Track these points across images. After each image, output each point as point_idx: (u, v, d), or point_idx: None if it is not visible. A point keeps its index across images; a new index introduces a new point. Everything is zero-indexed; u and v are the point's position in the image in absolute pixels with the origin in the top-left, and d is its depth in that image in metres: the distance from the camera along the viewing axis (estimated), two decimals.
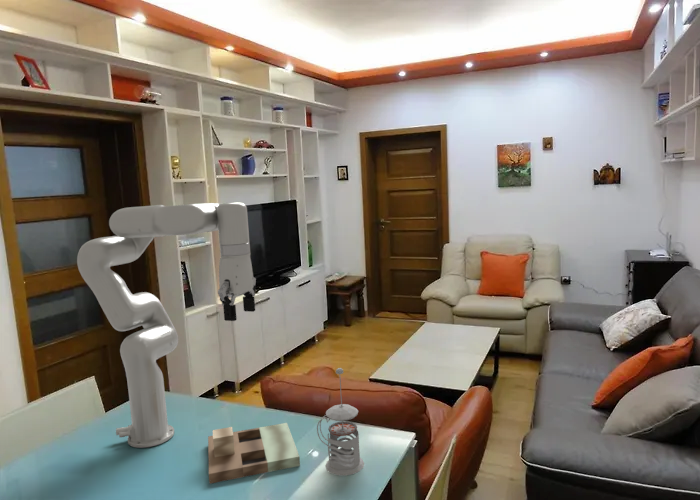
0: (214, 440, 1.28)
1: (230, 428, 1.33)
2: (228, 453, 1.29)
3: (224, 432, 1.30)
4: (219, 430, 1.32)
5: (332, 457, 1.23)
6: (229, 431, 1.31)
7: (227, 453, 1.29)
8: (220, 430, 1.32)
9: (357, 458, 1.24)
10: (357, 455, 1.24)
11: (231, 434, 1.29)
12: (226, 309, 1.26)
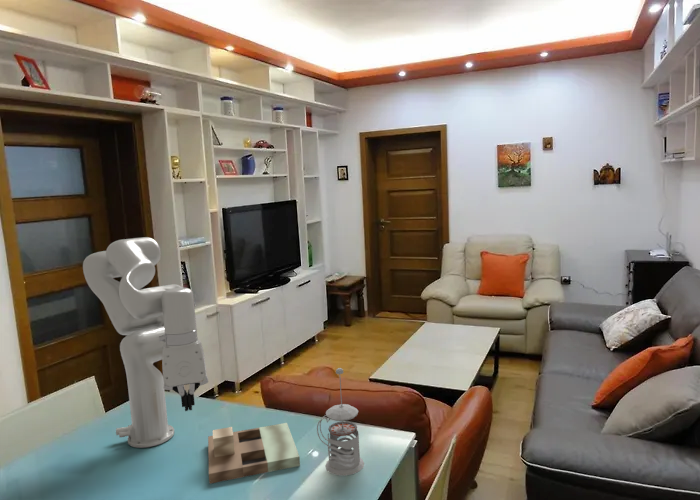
0: (214, 440, 1.28)
1: (230, 428, 1.33)
2: (228, 453, 1.29)
3: (224, 432, 1.30)
4: (219, 430, 1.32)
5: (332, 457, 1.23)
6: (229, 431, 1.31)
7: (227, 453, 1.29)
8: (220, 430, 1.32)
9: (357, 458, 1.24)
10: (357, 455, 1.24)
11: (231, 434, 1.29)
12: None
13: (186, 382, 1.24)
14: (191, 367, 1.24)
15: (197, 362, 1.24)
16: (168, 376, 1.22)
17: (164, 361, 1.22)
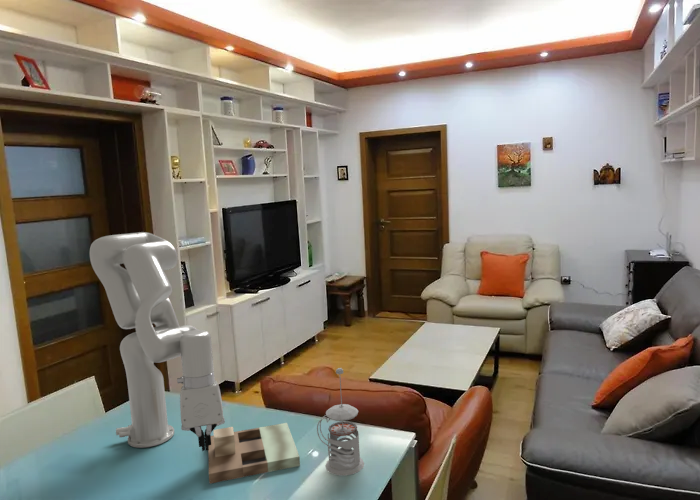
0: (215, 440, 1.28)
1: (231, 428, 1.33)
2: (229, 453, 1.29)
3: (225, 432, 1.30)
4: (220, 430, 1.32)
5: (332, 457, 1.23)
6: (230, 430, 1.31)
7: (228, 453, 1.29)
8: (221, 430, 1.32)
9: (357, 458, 1.24)
10: (357, 455, 1.24)
11: (232, 434, 1.29)
12: None
13: (203, 423, 1.26)
14: (208, 409, 1.26)
15: (214, 404, 1.26)
16: (186, 418, 1.25)
17: (182, 403, 1.24)
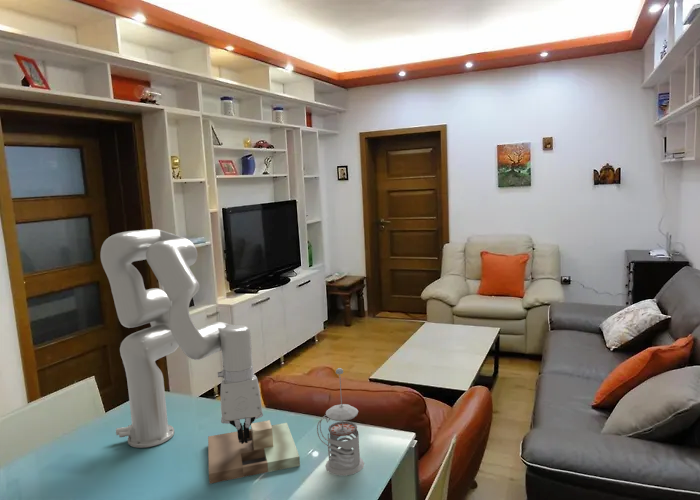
0: (254, 433, 1.30)
1: (268, 421, 1.35)
2: (267, 446, 1.32)
3: (263, 426, 1.33)
4: (257, 423, 1.34)
5: (332, 457, 1.23)
6: (267, 424, 1.34)
7: (266, 446, 1.32)
8: (258, 423, 1.34)
9: (357, 458, 1.24)
10: (357, 455, 1.24)
11: (270, 427, 1.32)
12: None
13: (243, 417, 1.29)
14: (248, 402, 1.29)
15: (254, 397, 1.29)
16: (226, 411, 1.27)
17: (223, 397, 1.27)
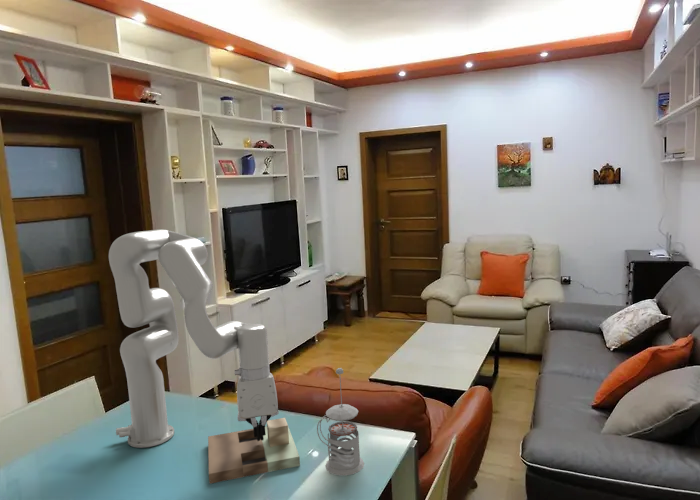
0: (270, 430, 1.31)
1: (283, 419, 1.36)
2: (283, 443, 1.33)
3: (278, 423, 1.34)
4: (273, 421, 1.36)
5: (332, 457, 1.23)
6: (283, 421, 1.35)
7: (282, 443, 1.33)
8: (274, 421, 1.36)
9: (357, 458, 1.24)
10: (357, 455, 1.24)
11: (286, 424, 1.33)
12: None
13: (260, 414, 1.30)
14: (264, 400, 1.30)
15: (270, 395, 1.30)
16: (243, 409, 1.29)
17: (240, 394, 1.28)
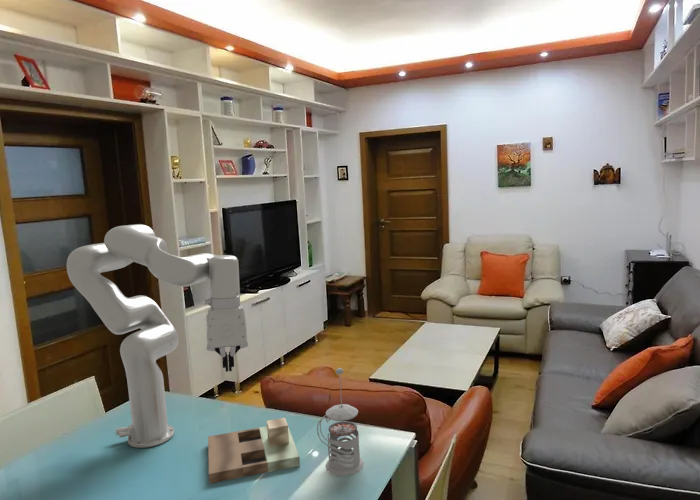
0: (270, 430, 1.31)
1: (283, 419, 1.36)
2: (283, 443, 1.33)
3: (278, 423, 1.34)
4: (273, 421, 1.36)
5: (332, 457, 1.23)
6: (283, 421, 1.35)
7: (282, 443, 1.33)
8: (274, 421, 1.36)
9: (357, 458, 1.24)
10: (357, 455, 1.24)
11: (286, 424, 1.33)
12: None
13: (228, 344, 1.31)
14: (233, 330, 1.31)
15: (239, 326, 1.31)
16: (212, 337, 1.30)
17: (209, 323, 1.29)
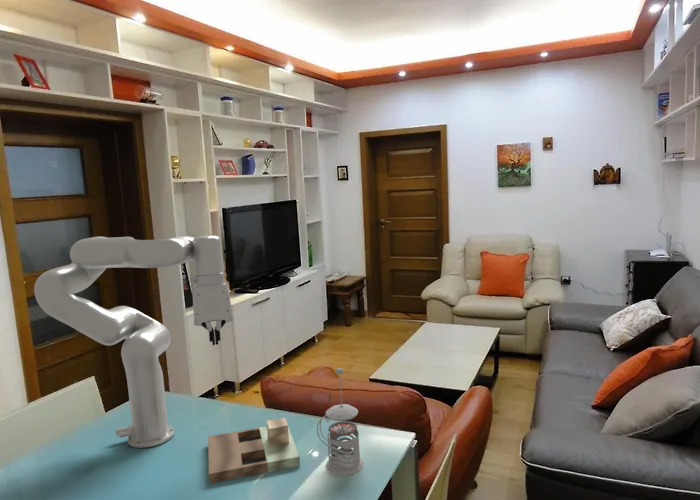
0: (270, 430, 1.31)
1: (283, 419, 1.36)
2: (283, 443, 1.33)
3: (278, 423, 1.34)
4: (273, 421, 1.36)
5: (332, 457, 1.23)
6: (283, 421, 1.35)
7: (282, 443, 1.33)
8: (274, 421, 1.36)
9: (357, 458, 1.24)
10: (357, 455, 1.24)
11: (286, 424, 1.33)
12: None
13: (214, 319, 1.39)
14: (218, 305, 1.39)
15: (224, 301, 1.40)
16: (198, 313, 1.38)
17: (195, 299, 1.38)
